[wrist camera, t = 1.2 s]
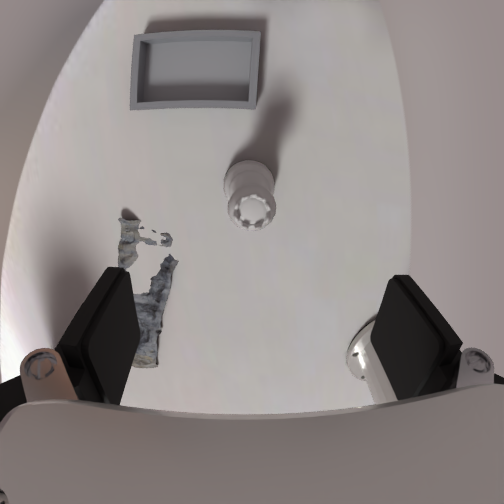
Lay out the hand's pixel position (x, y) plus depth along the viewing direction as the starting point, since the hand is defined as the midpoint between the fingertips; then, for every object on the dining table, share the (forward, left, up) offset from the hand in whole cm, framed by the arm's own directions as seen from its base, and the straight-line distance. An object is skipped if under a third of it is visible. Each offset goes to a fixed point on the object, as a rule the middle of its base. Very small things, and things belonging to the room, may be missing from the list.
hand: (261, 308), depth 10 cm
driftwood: (+11, +14, -19) cm, 26 cm away
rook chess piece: (0, 0, -18) cm, 18 cm away
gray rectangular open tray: (+5, -10, -18) cm, 21 cm away
